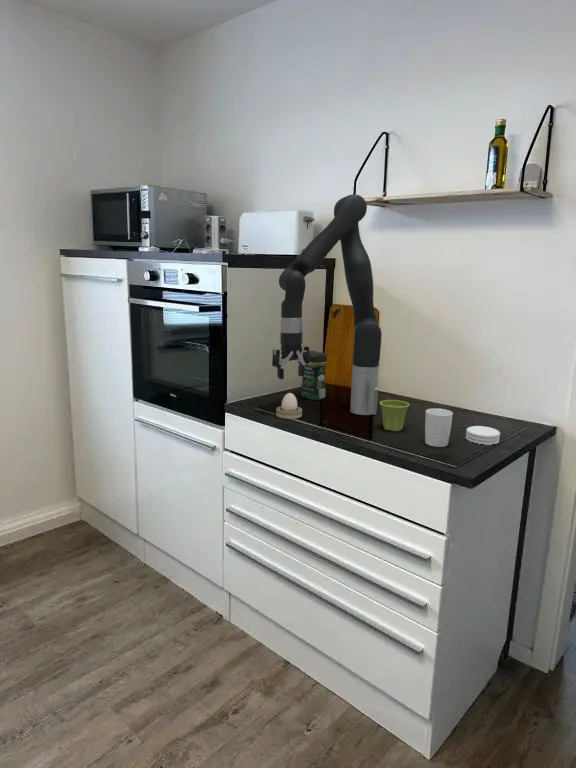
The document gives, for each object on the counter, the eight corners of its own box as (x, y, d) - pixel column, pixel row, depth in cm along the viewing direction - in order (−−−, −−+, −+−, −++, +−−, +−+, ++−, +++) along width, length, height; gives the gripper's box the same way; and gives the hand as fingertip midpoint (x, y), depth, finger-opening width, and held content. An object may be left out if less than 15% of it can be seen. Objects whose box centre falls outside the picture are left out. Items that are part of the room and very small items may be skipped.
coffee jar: (297, 396, 224) (298, 350, 220) (311, 393, 229) (313, 348, 225) (314, 401, 217) (315, 354, 213) (328, 398, 222) (330, 352, 218)
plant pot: (385, 434, 179) (387, 407, 177) (373, 425, 188) (375, 400, 186) (412, 432, 182) (414, 406, 180) (399, 424, 191) (401, 399, 189)
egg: (300, 415, 198) (301, 393, 196) (289, 418, 194) (290, 395, 192) (288, 412, 201) (289, 390, 200) (278, 414, 198) (278, 392, 196)
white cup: (418, 443, 171) (420, 411, 169) (432, 437, 177) (434, 407, 175) (441, 449, 166) (444, 417, 164) (454, 444, 171) (457, 412, 169)
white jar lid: (476, 434, 183) (477, 423, 182) (505, 441, 176) (506, 431, 175) (459, 439, 176) (460, 429, 176) (488, 448, 169) (489, 437, 168)
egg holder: (302, 412, 202) (302, 406, 201) (300, 419, 193) (301, 413, 192) (277, 411, 202) (278, 405, 202) (275, 417, 194) (275, 411, 193)
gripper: (301, 328, 198) (300, 373, 201) (267, 330, 190) (267, 378, 193) (314, 330, 192) (314, 377, 196) (280, 333, 184) (280, 382, 187)
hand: (291, 377), depth 194 cm, fingers open, 8 cm apart
